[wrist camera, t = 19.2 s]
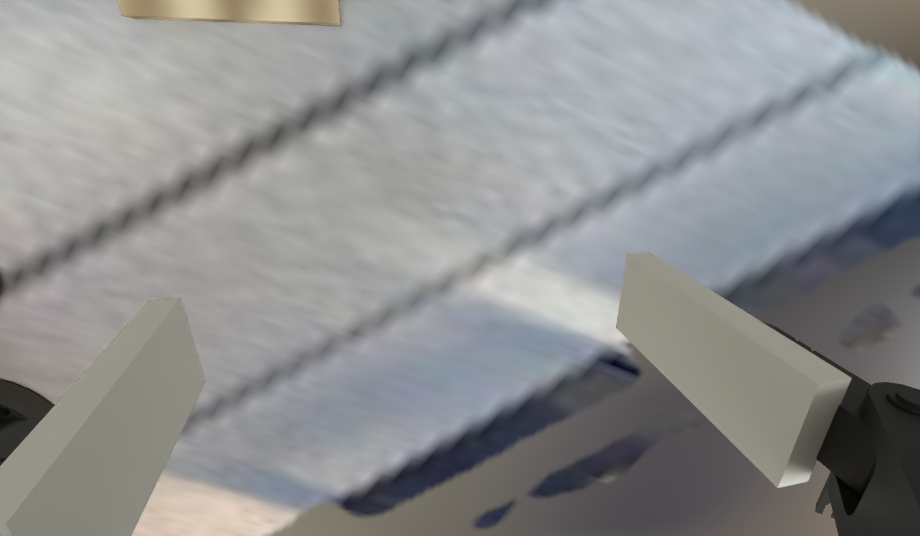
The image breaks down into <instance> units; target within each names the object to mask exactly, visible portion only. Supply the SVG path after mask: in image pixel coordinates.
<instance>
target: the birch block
mask: <svg viewBox="0 0 920 536" xmlns="http://www.w3.org/2000/svg"><path fill="white" fill-rule="evenodd" d="M117 1H118V5H119V8H120V12H121V15H122V16H126V17H130V18H135V19H161V20H188V21H216V22H244V23H271V24H299V25H327V26H341V22H340V10H339V0H117Z"/></svg>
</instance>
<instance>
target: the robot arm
mask: <svg viewBox="0 0 920 536" xmlns="http://www.w3.org/2000/svg"><path fill="white" fill-rule="evenodd" d="M616 328H617V329H618V330H619V331H620V332H621V333H622V334H623V335H624V336H625V337H626V338H627V339H628V340H629V341H630V342H631V343H632V344H633V345H634V346H635V347H636V348H637V349H638V350H639V351H640V352H641V353H642V354H643V355H644V356H645V357H646V358H647V359H648V360H649V361H650V362H651V363H652V364H653V365H654V366H655V367H656V368H657V369H658V370H659V371H660V372H662V374H663V375H665V377H666V378H667V379H668V380H669V381H671V382H672V384H674V385H675V386H676V387H677V388H678V389H679V390H680V391H681V392H682V393H683V394H684V395H685V396H686V397H687V398H688V399H689V400H690V401H691V402H692V403H693V404H694V405H695V406H696V407H697V408H698V409H699V410H700V411H701V412H702V413H703V414H704V415H705V416H706V417H707V418H708V419H709V420H710V421H711V422H712V423H713V424H714V425H715V426H716V427H717V428H718V429H719V430H720V431H721V432H722V433H723V434H724V435H725V436H726V437H727V438H728V439H729V440H730V441H731V442H732V443H733V444H734V445H735V446H736V447H737V448H738V449H739V450H740V451H741V452H742V453H743V454H744V455H745V456H746V457H747V458H748V459H749V460H750V461H751V462H752V463H753V464H754V465H755V466H756V467H757V468H758V469H759V470H760V471H761V472H762V473H763V474H764V475H765V476H766V477H767V478H768V479H769V480H771V482H772V483H773V484H774V485H775V486H776V487H777V488H780V487H785V486H789V485H794V484H798V483H803V482H807V481H808V480H809V477H810V475H811V473H812V470H813V468H814V466H815V463H816V461H817V460H818V461H820V462H821V463H822V464H823V465H824V466H826V467H827V468H828V469H829V470H830V471H831V472H830V474H829V477H828V479H827V481H826V483H825V486H824V488H823V490H822V492H821V494H820V497H819V499H818V501H817V503H816V510H815V512H817V513H821V514H822V512H823V510H824V508H825V506H826V505H827V504H829V503H831V506H832V510H833V513H832V515H831V517H832V518H835V522H836V527H837V531H838V535H839V536H920V390H919V389H915V388H912V387H909V386H905V385H902V384H895V383H889V382H883V383H882V382H881V383H874V384H873V385H870V384H869V383H867V382H865V381H864V380H862V379H861V378H859V377H857V376H855V375H854V374H852V373H851V372H849V371H847V370H846V369H844V368H842V367H841V366H839V365H838V364H836V363H834V362H833V361H831V360H829V359H828V358H826V357H824V356H823V355H821V354H820V353H818V352H816V351H811V348H810V347H808V346H807V345H805V344H803V343H802V342H800V341H796V340H795V338H794V337H792V336H790V335H789V334H787V333H785V332H784V331H782V330H780V329H779V328H777V327H775V326H772V325H770V324H767V323H765V322H762V321H760V320H758V319H756V318H754V317H753V316H751V315H750V314H748V313H746V312H745V311H743V310H742V309H740V308H738V307H737V306H735V305H734V304H732V303H730V302H729V301H727V300H726V299H724V298H722V297H721V296H719V295H717V294H716V293H714V292H713V291H711V290H709V289H708V288H706V287H705V286H703V285H701V284H700V283H698V282H697V281H695V280H693V279H692V278H690V277H689V276H687V275H685V274H684V273H682V272H680V271H679V270H677V269H676V268H674V267H672V266H671V265H669V264H668V263H666V262H664V261H663V260H661V259H660V258H658V257H656V256H655V255H653V254H652V253H650V252H641V253H631V254H627V259H626V265H625V272H624V278H623V285H622V292H621V298H620V305H619V311H618V318H617V324H616ZM205 382H206V380H205V377H204V374H203V370H202V367H201V364H200V360H199V357H198V354H197V350H196V347H195V344H194V341H193V337H192V334H191V331H190V327H189V324H188V321H187V317H186V314H185V311H184V307H183V304H182V301H181V298H175V299H164V300H154V301H148V303H147V304H146V305H145V306H144V307H143V308H142V309H141V310H140V311H139V313H138V314H137V315H136V316H135V317H134V318H133V319H132V320H131V321H130V323H129V324H128V325H127V326H126V327H125V328H124V329H123V330H122V331H121V333H120V334H119V335H118V336H117V337H116V338H115V339H114V340H113V341H112V343H111V344H110V345H109V346H108V347H107V348H106V349H105V350H104V351H103V353H102V354H101V355H100V356H99V357H98V358H97V359H96V360H95V361H94V362H93V364H92V365H91V366H90V367H89V368H88V369H87V370H86V371H85V372H84V374H83V375H82V376H81V377H80V378H79V379H78V380H77V381H76V382H75V384H74V385H73V386H72V387H71V388H70V389H69V390H68V391H67V392H66V394H65V395H64V396H63V397H62V398H61V399H60V400H59V401H58V402H57V404H56V405H55V406H54V407H53V406H52V405H51V404H50V403H49V402H47V401H46V400H45V399H43V398H42V397H40V396H39V395H37V394H35V393H33V392H31V391H29V390H27V389H25V388H23V387H20V386H18V385H15V384H12V383H9V382H6V381H2V380H0V536H131V535H132V533H133V531H134V529H135V527H136V524H137V522H138V520H139V518H140V516H141V514H142V512H143V510H144V508H145V506H146V504H147V502H148V500H149V498H150V496H151V494H152V492H153V489H154V487H155V485H156V483H157V481H158V479H159V477H160V475H161V473H162V471H163V469H164V467H165V465H166V463H167V461H168V459H169V456H170V454H171V452H172V450H173V448H174V446H175V444H176V442H177V440H178V438H179V436H180V434H181V432H182V430H183V428H184V426H185V423H186V421H187V419H188V417H189V415H190V413H191V411H192V409H193V407H194V405H195V403H196V401H197V399H198V397H199V395H200V393H201V390H202V388H203V386H204V384H205Z"/></svg>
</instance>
